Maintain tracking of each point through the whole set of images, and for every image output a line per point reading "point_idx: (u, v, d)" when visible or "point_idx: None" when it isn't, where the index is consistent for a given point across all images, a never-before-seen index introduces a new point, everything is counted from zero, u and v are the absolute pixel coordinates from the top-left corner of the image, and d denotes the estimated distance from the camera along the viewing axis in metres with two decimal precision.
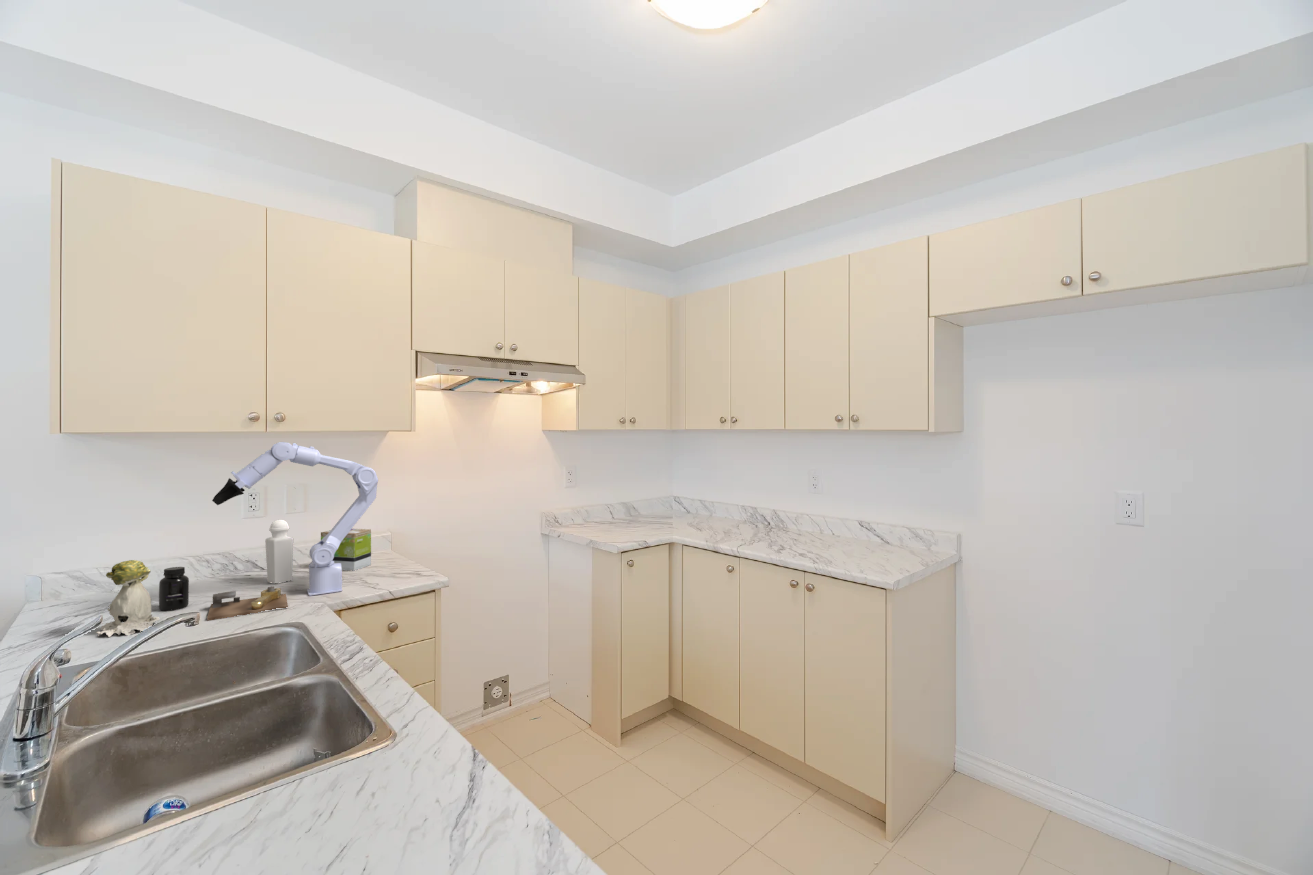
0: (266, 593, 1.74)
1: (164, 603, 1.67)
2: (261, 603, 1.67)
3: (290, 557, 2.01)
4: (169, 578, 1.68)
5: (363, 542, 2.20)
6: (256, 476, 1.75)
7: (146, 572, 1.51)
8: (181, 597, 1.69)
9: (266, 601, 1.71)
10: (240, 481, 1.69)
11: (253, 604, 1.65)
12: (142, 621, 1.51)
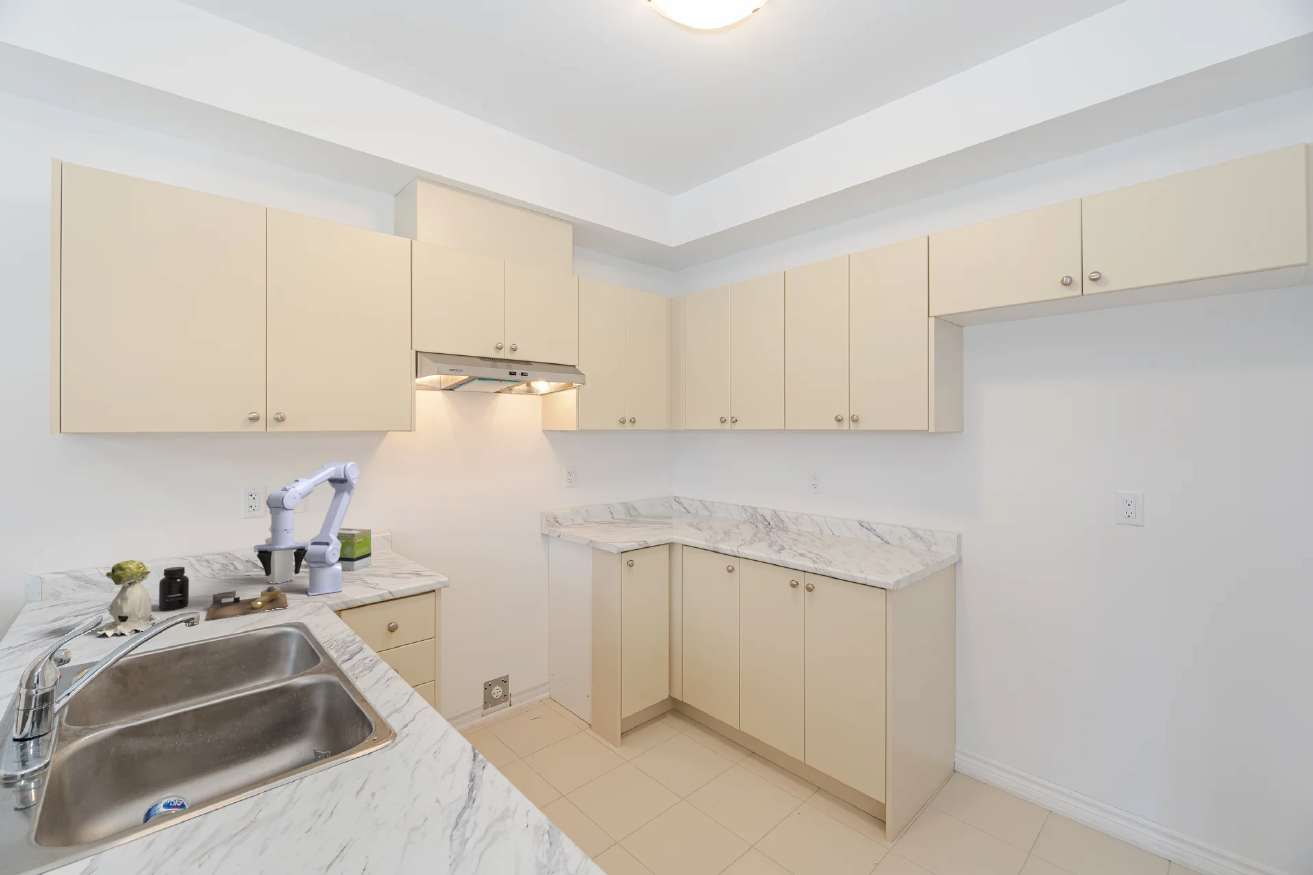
0: (266, 593, 1.74)
1: (164, 603, 1.67)
2: (261, 603, 1.67)
3: (290, 557, 2.01)
4: (169, 578, 1.68)
5: (363, 542, 2.20)
6: (293, 532, 1.74)
7: (146, 572, 1.51)
8: (181, 597, 1.69)
9: (266, 601, 1.71)
10: (309, 544, 1.74)
11: (253, 604, 1.65)
12: (142, 620, 1.51)
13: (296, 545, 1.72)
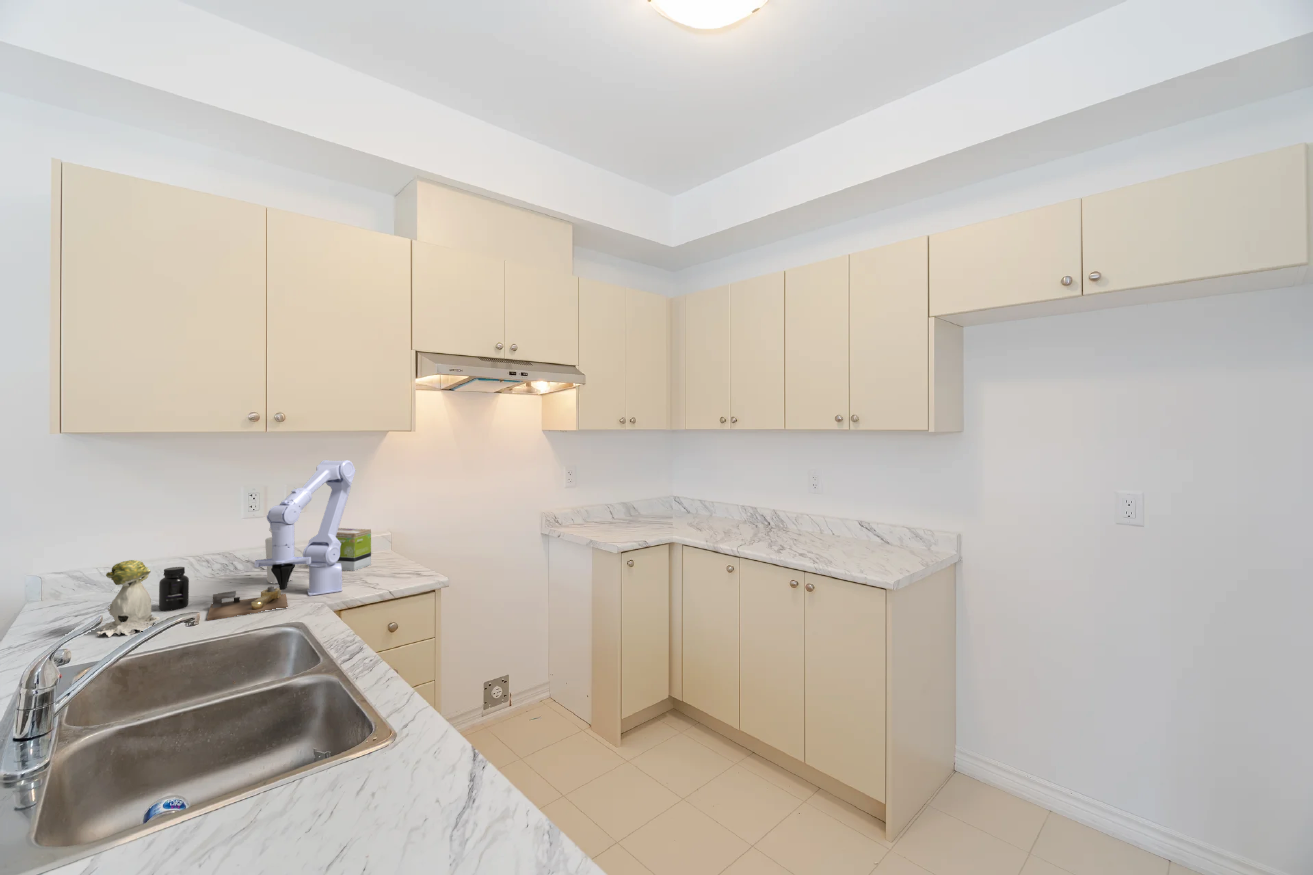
0: (266, 593, 1.74)
1: (164, 603, 1.67)
2: (261, 603, 1.67)
3: None
4: (169, 578, 1.68)
5: (363, 542, 2.20)
6: None
7: (146, 572, 1.51)
8: (181, 597, 1.69)
9: (266, 601, 1.71)
10: (309, 558, 1.74)
11: (253, 604, 1.65)
12: (142, 621, 1.51)
13: (297, 560, 1.72)
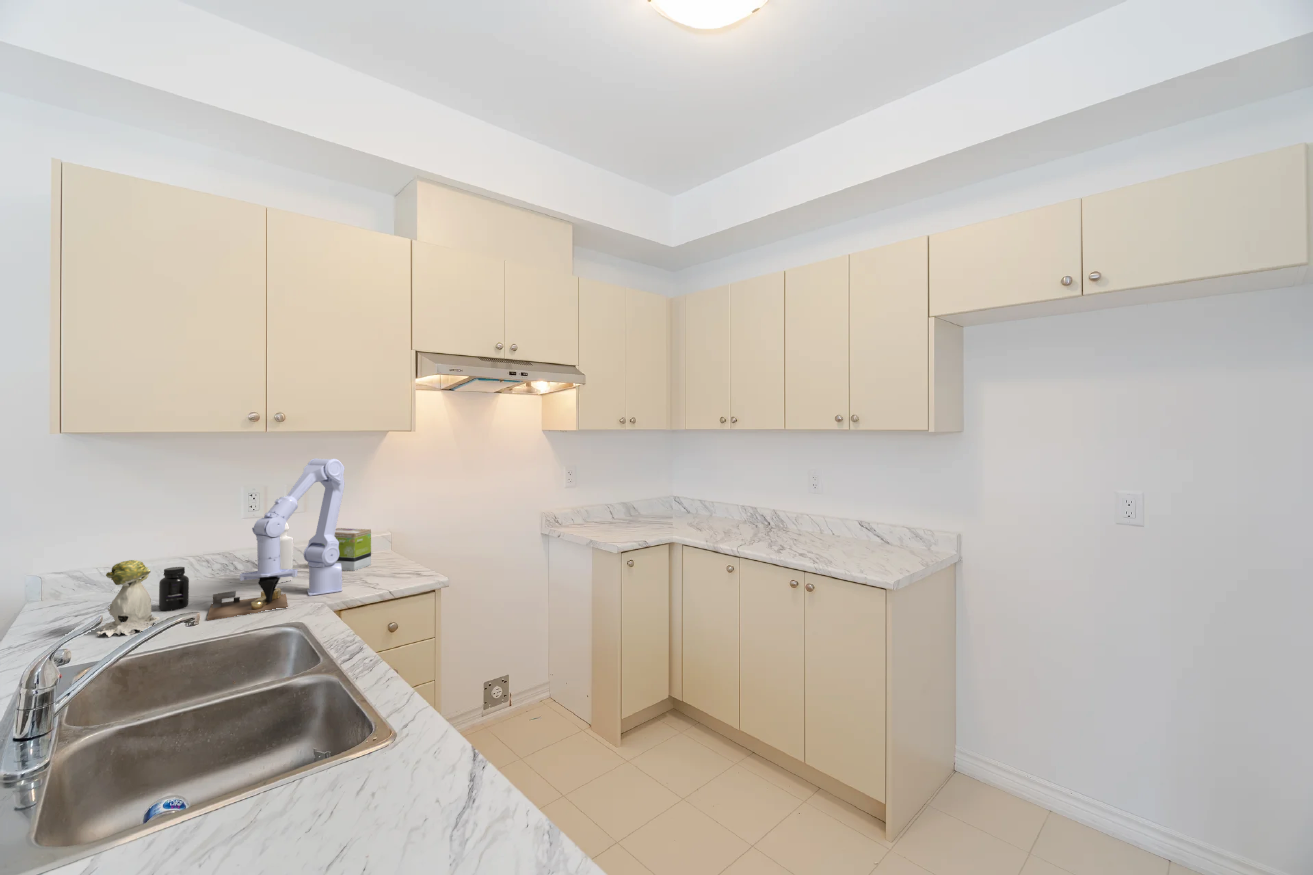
0: None
1: (164, 603, 1.67)
2: (261, 603, 1.67)
3: (290, 557, 2.01)
4: (169, 578, 1.68)
5: (363, 542, 2.20)
6: None
7: (146, 572, 1.51)
8: (181, 597, 1.69)
9: (266, 601, 1.71)
10: (295, 571, 1.73)
11: (253, 604, 1.65)
12: (142, 620, 1.51)
13: (283, 572, 1.71)
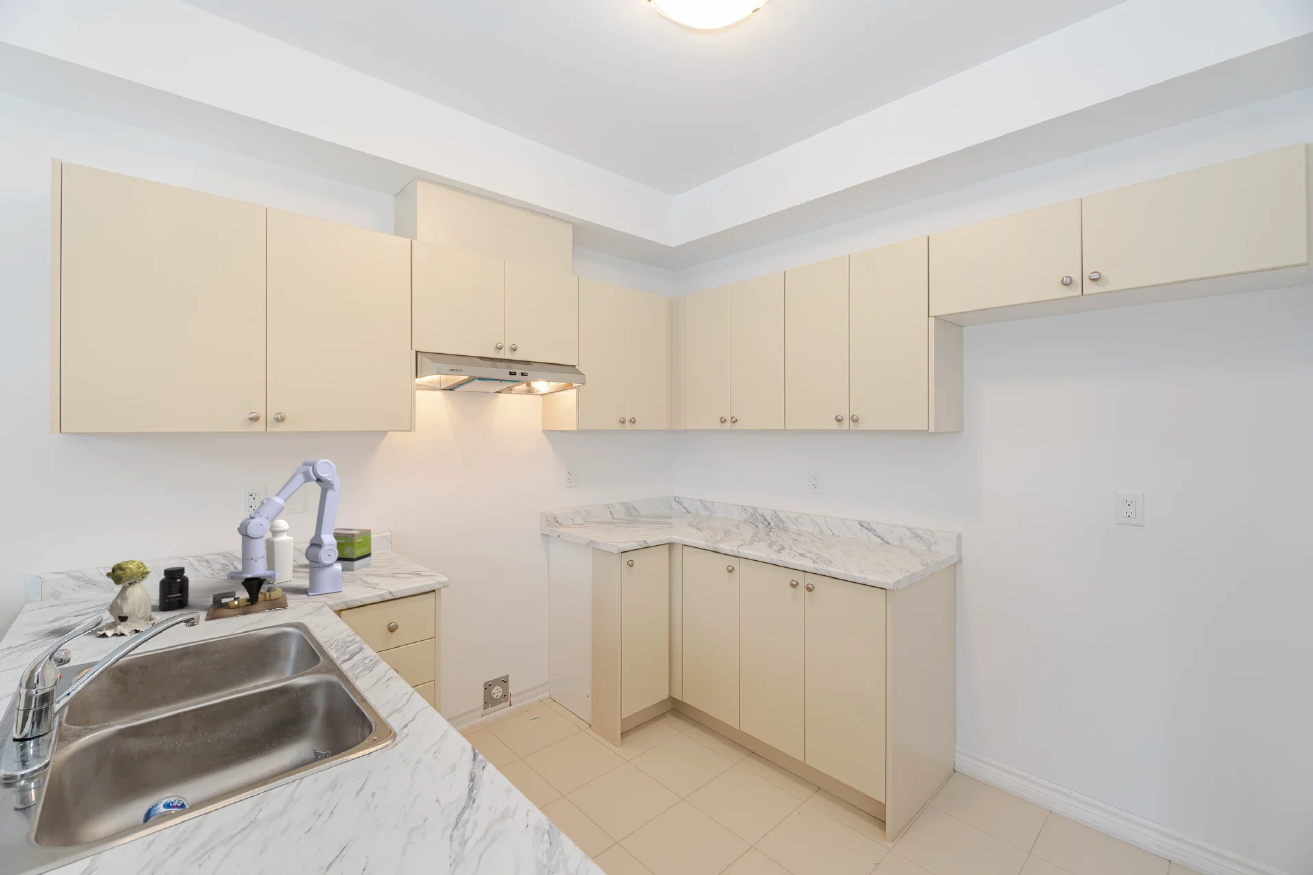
0: (262, 593, 1.75)
1: (164, 603, 1.67)
2: (234, 603, 1.67)
3: (290, 557, 2.01)
4: (169, 578, 1.68)
5: (363, 542, 2.20)
6: (264, 560, 1.72)
7: (146, 572, 1.51)
8: (181, 597, 1.69)
9: (249, 601, 1.70)
10: (276, 573, 1.70)
11: (228, 603, 1.67)
12: (142, 621, 1.51)
13: (263, 574, 1.69)
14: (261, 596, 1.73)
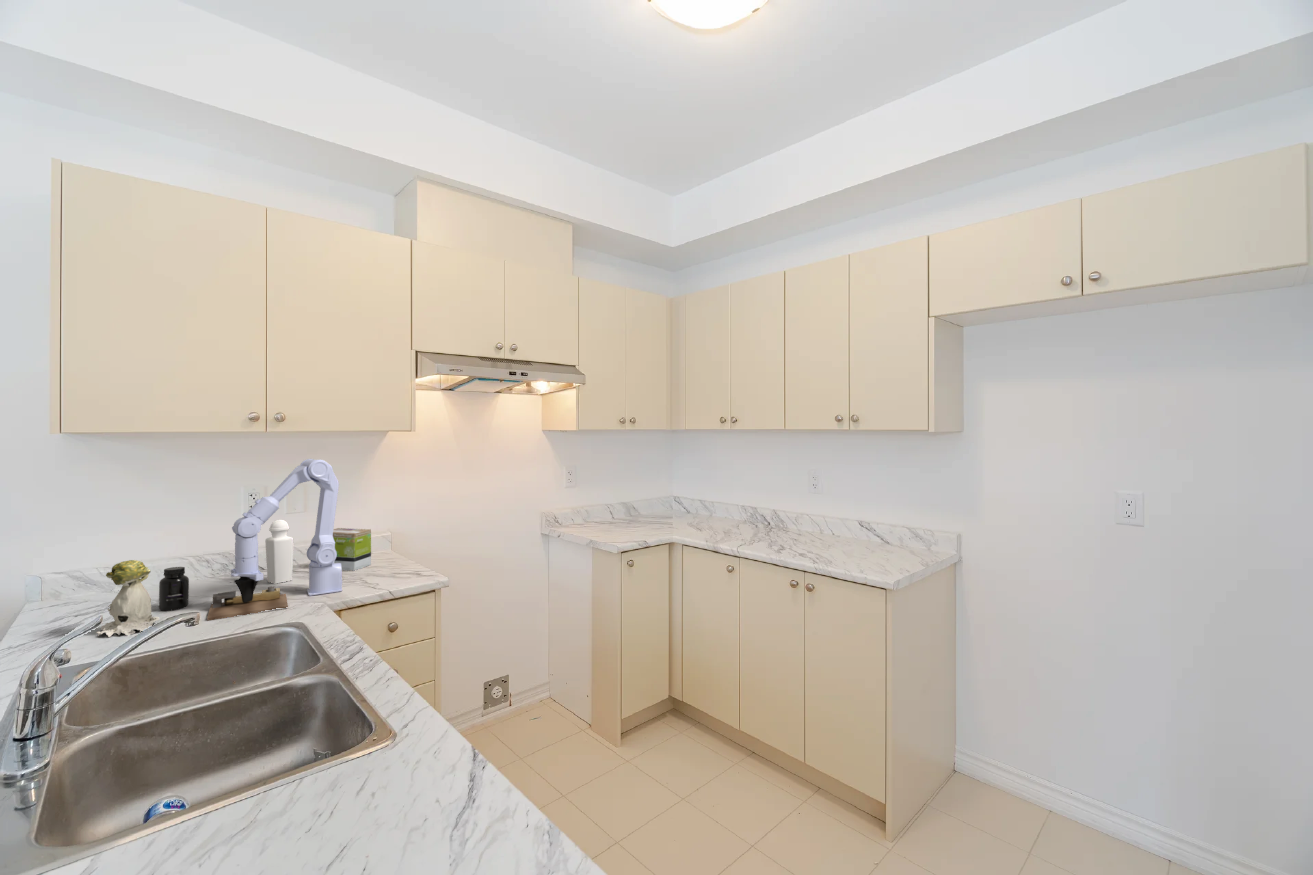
0: (262, 592, 1.76)
1: (164, 603, 1.67)
2: (227, 600, 1.70)
3: (290, 557, 2.01)
4: (169, 578, 1.68)
5: (363, 542, 2.20)
6: (255, 560, 1.72)
7: (146, 572, 1.51)
8: (181, 597, 1.69)
9: None
10: (257, 575, 1.68)
11: None
12: (142, 621, 1.51)
13: (248, 575, 1.68)
14: (257, 595, 1.74)
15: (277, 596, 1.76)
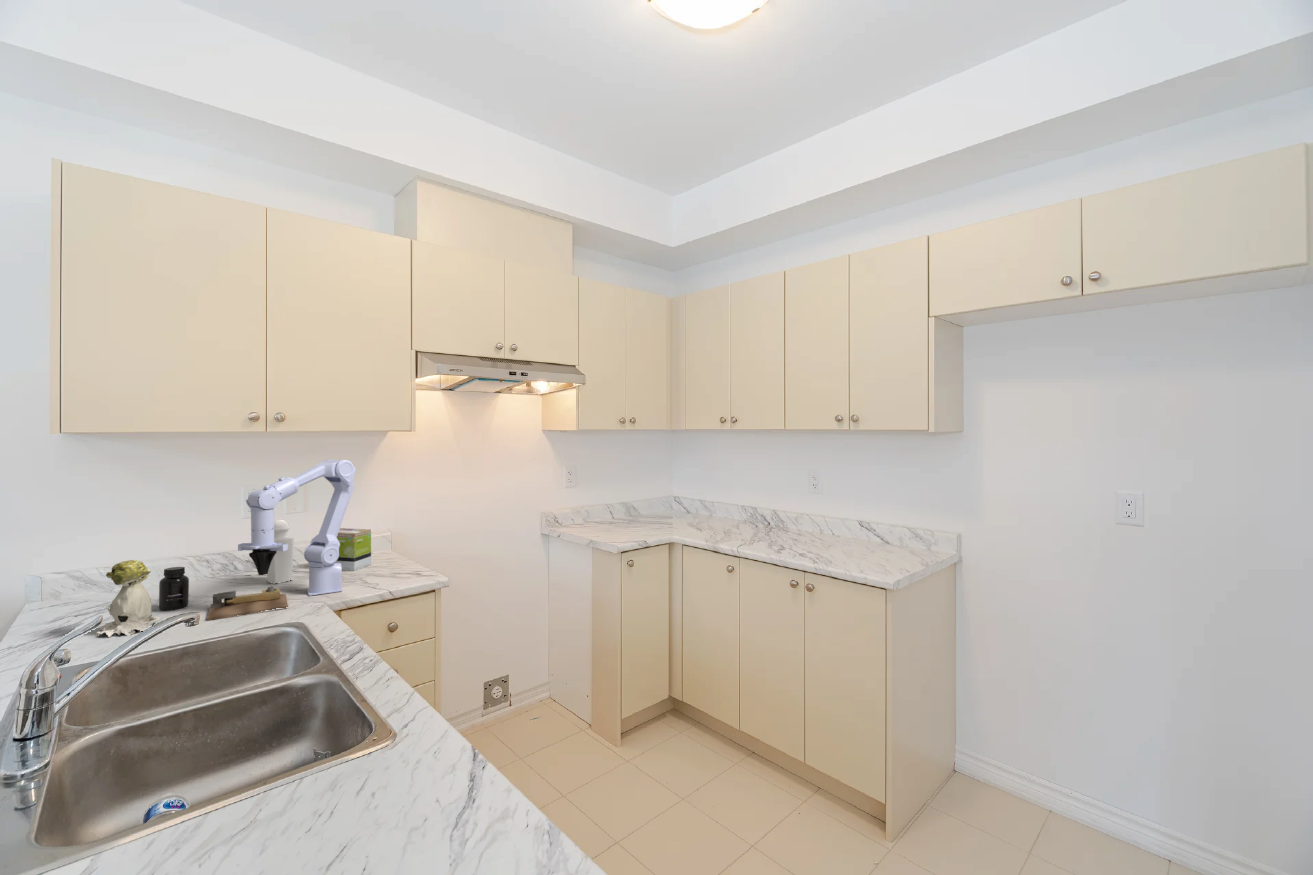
0: None
1: (164, 603, 1.67)
2: (227, 600, 1.70)
3: (290, 557, 2.01)
4: (169, 578, 1.68)
5: (363, 542, 2.20)
6: (273, 532, 1.72)
7: (146, 572, 1.51)
8: (181, 597, 1.69)
9: (244, 600, 1.72)
10: (283, 546, 1.69)
11: None
12: (142, 621, 1.51)
13: (271, 546, 1.69)
14: (257, 595, 1.74)
15: (277, 596, 1.76)
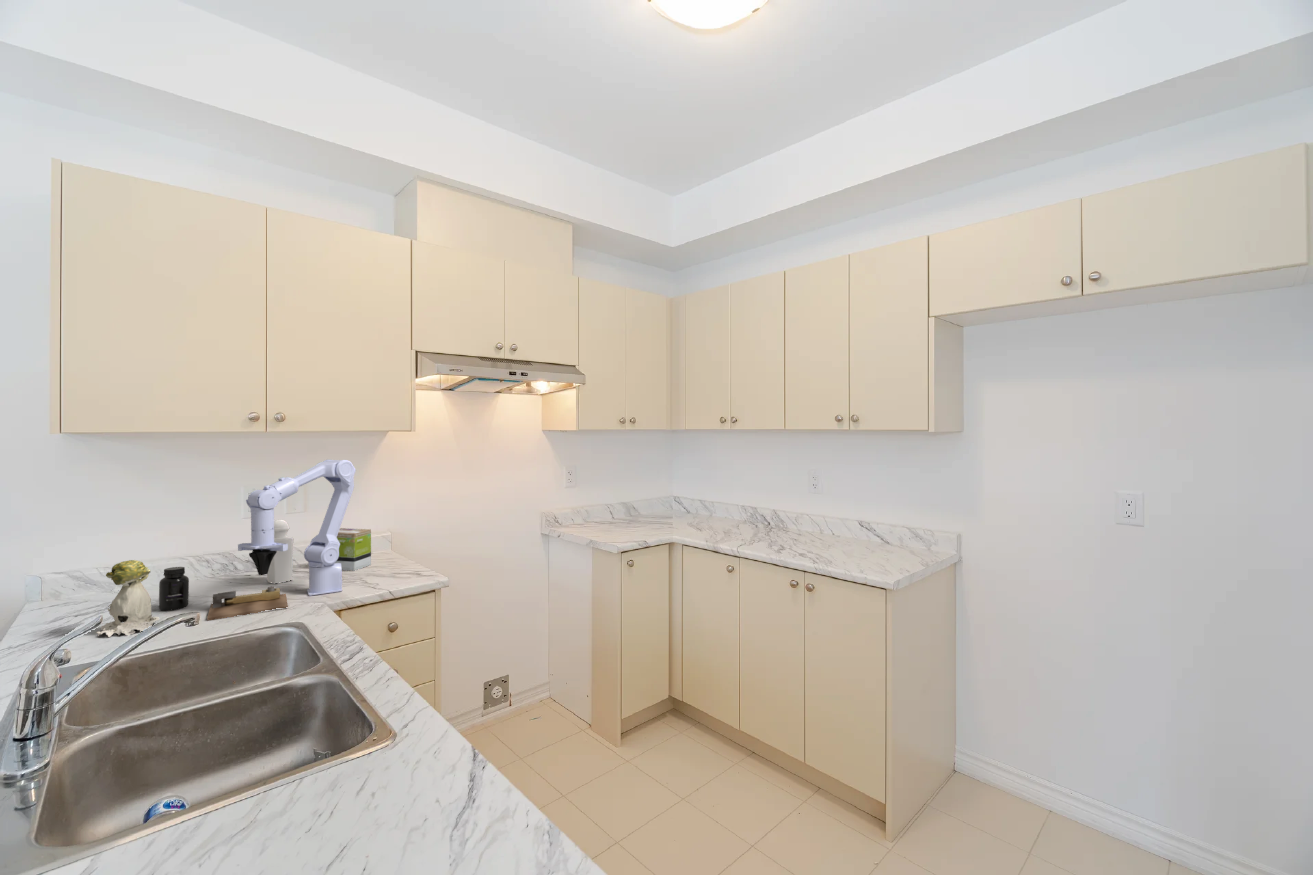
0: None
1: (164, 603, 1.67)
2: (227, 600, 1.70)
3: (290, 557, 2.01)
4: (169, 578, 1.68)
5: (363, 542, 2.20)
6: (273, 532, 1.72)
7: (146, 572, 1.51)
8: (181, 597, 1.69)
9: (244, 600, 1.72)
10: (284, 546, 1.69)
11: None
12: (142, 621, 1.51)
13: (271, 546, 1.69)
14: (257, 595, 1.74)
15: (277, 596, 1.76)
